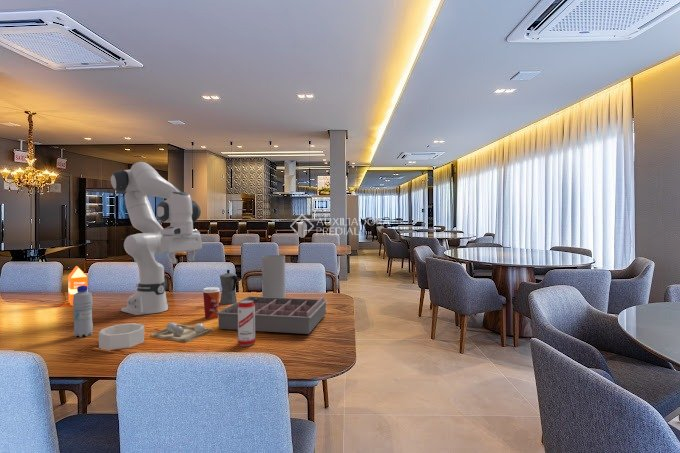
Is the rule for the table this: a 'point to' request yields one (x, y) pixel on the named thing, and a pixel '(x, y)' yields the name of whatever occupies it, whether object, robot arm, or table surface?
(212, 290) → the paper cup
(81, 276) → the orange juice
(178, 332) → the grey ball
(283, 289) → the cylinder vase
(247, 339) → the beer can
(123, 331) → the ceramic bowl
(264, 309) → the organizer tray
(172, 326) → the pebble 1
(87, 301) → the bottle
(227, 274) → the coffeepot
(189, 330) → the oak tray
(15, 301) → the table surface
